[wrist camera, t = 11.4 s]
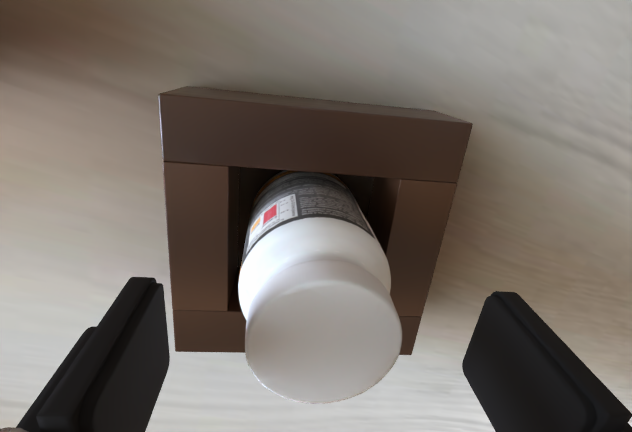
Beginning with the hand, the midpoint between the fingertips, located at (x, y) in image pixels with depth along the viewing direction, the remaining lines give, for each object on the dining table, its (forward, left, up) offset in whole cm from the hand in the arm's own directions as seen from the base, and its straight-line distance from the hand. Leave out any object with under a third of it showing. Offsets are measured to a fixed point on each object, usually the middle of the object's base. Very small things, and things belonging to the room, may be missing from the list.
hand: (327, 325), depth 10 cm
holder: (+1, 0, -10) cm, 10 cm away
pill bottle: (+1, 0, -10) cm, 10 cm away
